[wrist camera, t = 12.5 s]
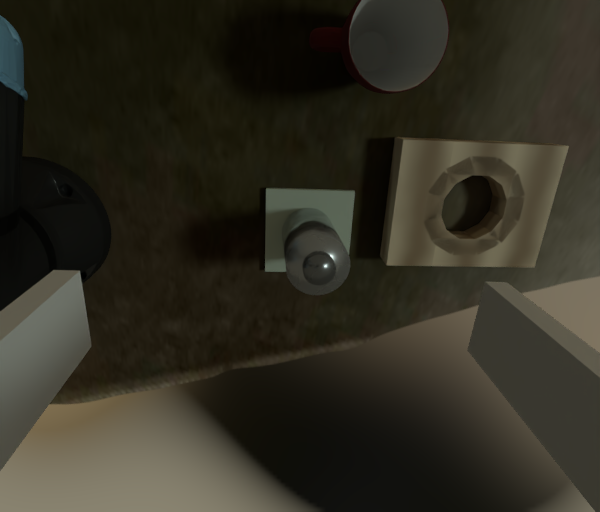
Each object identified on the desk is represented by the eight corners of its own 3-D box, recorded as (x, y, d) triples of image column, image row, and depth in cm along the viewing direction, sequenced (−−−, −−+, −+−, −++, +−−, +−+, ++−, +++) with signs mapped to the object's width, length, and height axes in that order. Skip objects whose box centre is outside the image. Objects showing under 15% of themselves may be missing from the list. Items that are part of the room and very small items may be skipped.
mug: (307, 98, 41) (317, 97, 32) (302, 9, 38) (313, -21, 29) (406, 92, 41) (445, 89, 32) (410, 3, 38) (454, -28, 29)
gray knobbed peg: (281, 256, 46) (285, 299, 36) (282, 206, 44) (287, 238, 34) (331, 257, 47) (349, 300, 37) (335, 208, 45) (355, 239, 35)
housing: (379, 255, 48) (386, 265, 45) (394, 136, 43) (403, 139, 40) (519, 258, 49) (534, 267, 47) (550, 143, 44) (568, 146, 42)
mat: (265, 269, 48) (265, 271, 47) (266, 187, 44) (266, 188, 43) (346, 270, 48) (347, 272, 48) (353, 190, 45) (354, 191, 44)
